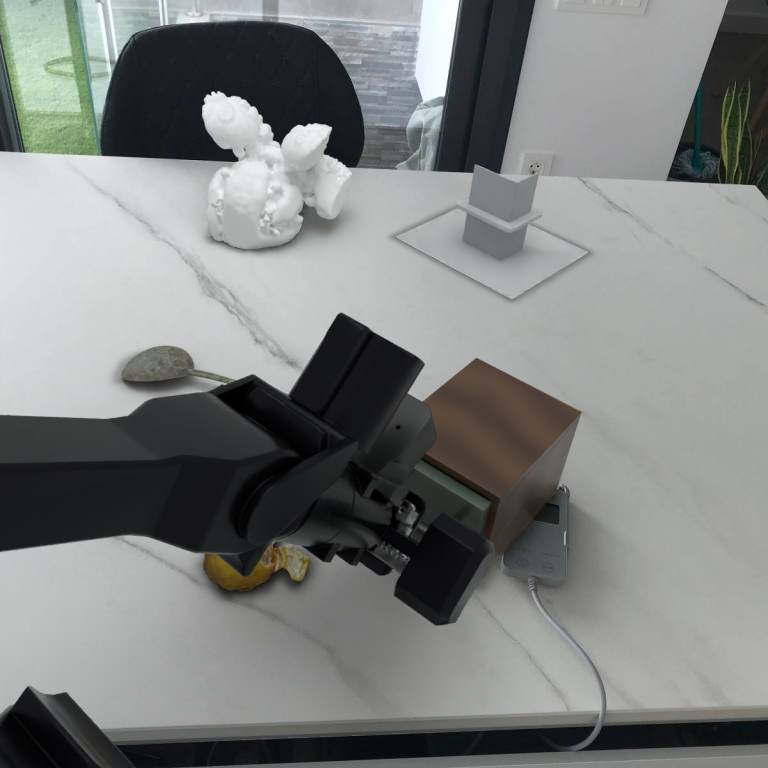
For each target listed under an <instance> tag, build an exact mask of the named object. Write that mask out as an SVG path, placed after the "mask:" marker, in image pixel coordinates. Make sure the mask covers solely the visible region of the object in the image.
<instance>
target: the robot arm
mask: <svg viewBox="0 0 768 768" xmlns="http://www.w3.org/2000/svg"><path fill="white" fill-rule="evenodd" d="M425 365H426V363H425V362H424V361H423V360H422V359H421V358H420V357H419V356H417V355H416V354H414V353H412V352H410V351H408V350H407V349H405V348H403V347H401V346H400V345H398V344H396V343H394V342H393V341H390V340H388V339H387V338H385V337H383V336H381V334H378V333H377V332H374V331H373V330H372V329H371V328H370V327H369V326H367V325H365V324H364V323H362V322H360V321H359V320H356V319H354V318H353V317H351V316H349V315H347V314H346V313H344V312H339V313H337V314H336V316H335V318H334V319H333V321H332V323H331V324H330V326H329V327H328V329H327V331H326V332H325V335H324V337H323V338H322V340H321V341H320V343H319V345H318V346H317V348H316V349H315V351H314V352H313V354H312V355H311V357H310V359H309V360H308V362H307V363H306V366H305V367H304V369H303V370H302V371H301V373H300V374H299V377H298V378H297V380H296V381H295V383H294V384H293V386H292V388H291V389H290V391H289V393H286V392H284V391H282V390H281V389H279V388H277V387H275V386H273V385H271V384H270V383H268V382H267V381H265V380H264V379H262V378H260V377H259V376H257V375H256V374H254V373H252V374H249V375H247V376H244V377H241V378H238V379H235V380H236V381H234V382H231V383H228V384H227V383H225V384H224V383H222V384H220V385H218V386H216V387H215V388H213V389H210V390H208V391H203V392H202V391H201V392H199V391H197V392H190V393H182V394H181V393H180V394H174V395H167V396H166V395H165V396H159V397H152V398H149V399H147V400H144V402H142V403H141V404H140V405H139V406H137V407H136V408H135V409H134V410H133V411H131V413H129V414H128V415H124V416H123V415H122V416H117V417H109V418H98V417H72V416H71V417H70V416H69V417H67V416H46V415H45V416H42V415H16V414H15V415H13V414H0V553H5V552H12V551H13V552H14V551H21V550H28V549H34V548H35V549H36V548H43V547H51V546H58V545H66V544H73V543H79V542H81V543H82V542H87V541H95V540H103V539H109V538H118V537H124V536H126V537H127V536H129V537H130V536H131V537H142V538H143V537H144V538H149V539H152V540H155V541H158V542H161V543H163V544H167V545H169V546H172V547H175V548H178V549H180V550H184V551H187V552H189V553H193V554H204V555H205V554H216V555H217V556H218V557H219V558H221V559H222V560H223V561H224V562H225V563H227V564H228V565H229V566H230V567H232V568H233V569H234V570H235V571H236V572H238V573H239V574H240V575H241V576H243V577H248V576H250V575H251V574H252V572H253V571H254V569H255V568H256V566H257V564H258V563H259V561H260V559H261V558H262V556H263V555H264V553H265V551H266V550H267V548H268V547H269V545H270V544H271V543H272V542H273V541H274V542H275V543H282V544H288V545H293V546H299V547H302V548H303V549H304V550H306V551H307V552H309V553H310V554H311V555H312V556H314V557H315V558H317V559H318V560H319V561H321V562H323V563H329V564H330V563H332V561H333V559H334V557H335V556H337V557H339V558H340V559H341V560H343V561H344V562H345V563H347V564H348V565H350V566H352V567H353V566H354V567H357V566H358V565H359V563H360V564H361V565H362V566H365V567H366V568H367V569H369V570H370V571H371V572H372V573H374V574H376V575H377V576H380V577H385V576H388V575H390V574H391V573H392V571H393V570H394V571H396V572H397V573H398V574H400V575H399V577H398V578H397V580H396V582H395V585H394V590H393V597H394V598H396V599H398V600H399V601H400V602H401V603H403V604H404V605H406V606H407V607H409V608H410V609H411V610H412V611H414V612H415V613H417V614H419V615H420V616H421V617H423V619H426V620H427V621H428V622H429V623H431V624H432V625H434V626H435V627H437V626H446V625H447V626H448V625H451V624H456V623H457V622H458V620H459V618H460V617H461V615H462V613H463V611H464V609H465V607H466V606H467V604H468V602H469V600H470V599H471V598H472V595H473V594H474V592H475V590H476V589H477V587H478V585H479V583H480V582H481V580H482V579H483V578H484V576H485V575H484V573H485V571H486V570H487V568H488V566H489V565H490V563H491V561H492V559H493V558H494V556H495V554H496V553H495V549H494V545H493V542H492V541H491V540H489V539H487V538H486V537H484V536H483V535H481V534H480V533H478V532H476V531H475V530H473V529H472V528H470V527H468V526H467V525H465V524H464V523H462V522H461V521H459V520H457V519H455V518H454V517H452V516H450V515H448V514H446V513H444V512H442V513H441V514H440V515H439V516H438V517H437V518H436V519H435V520H434V521H433V522H431V524H430V525H429V527H428V529H427V531H426V532H425V534H424V536H423V537H422V539H421V541H420V542H419V543H418V542H417V541H415V540H414V539H412V536H413V535H414V533H415V531H416V529H417V528H418V526H419V524H420V523H421V521H422V519H423V517H424V515H425V511H426V503H425V501H424V499H422V498H421V497H419V496H418V495H416V494H415V493H413V492H412V491H410V490H408V489H407V488H405V487H404V486H402V484H403V483H404V481H405V479H406V478H407V476H408V475H409V474H410V473H411V471H412V470H413V469H414V467H415V466H416V465H417V464H418V462H419V461H420V460H421V458H422V457H423V456H424V455H425V453H426V452H427V451H428V450H429V449H431V447H432V446H433V445H434V443H435V442H436V439H437V434H436V430H435V425H434V421H433V416H432V411H431V409H430V407H429V406H428V405H427V404H425V403H424V402H422V401H423V400H420V399H418V398H417V397H415V396H413V395H411V394H410V393H409V392H410V391H411V388H412V387H413V385H414V383H415V382H416V380H417V378H418V377H419V375H420V374H421V372H422V371H423V369H424V367H425ZM405 556H406V557H407V558H405ZM483 575H484V576H483ZM482 577H483V578H482ZM481 578H482V579H481ZM0 768H136V766H135V765H134V764H133V763H132V762H131V761H130V760H129V759H128V758H127V756H126V755H125V754H124V753H123V752H122V751H121V750H120V749H119V748H118V746H117V745H116V744H115V743H114V742H113V741H112V740H111V739H110V738H109V737H108V736H107V734H106V733H104V732H103V730H102V729H101V728H100V727H99V726H98V725H97V724H96V723H95V722H94V720H93V719H92V718H91V717H90V716H89V715H88V714H87V713H86V712H85V710H83V708H81V706H80V705H79V704H78V703H77V701H75V700H74V698H72V696H71V695H70V694H69V693H68V692H67V691H62V692H58V693H54V694H51V693H44V692H41V691H39V690H38V689H36V688H35V687H33V686H31V685H27V686H26V687H25V689H24V690H23V691H22V692H21V694H20V695H19V697H18V698H17V700H16V701H15V702H14V703H13V704H10V705H8V706H7V707H6V708H5V709H4V710H3V711H2V712H1V713H0Z"/></svg>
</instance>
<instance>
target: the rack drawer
mask: <svg viewBox="0 0 768 768" xmlns="http://www.w3.org/2000/svg"><path fill="white" fill-rule="evenodd" d="M402 486H404V487H405V488H407V489H408V490H410V491H412V492H413V493H415V494H416V495H418V496H419V497H421V498H422V499H424V501H425V503H426V511H425V515H424V517H423V519H422V521H421V523H420V524H419V526H418V528H417V529H416V531H415V533H414V535H413V536H412V539H414V540H415V541H417V542H418V543H419V542H420V541H421V539H422V537H423V536H424V534H425V532H426V531H427V529H428V527H429V525H430V524H431V522H433V521H434V520H435V519H436V518H437V517H438V516H439V515H440V514H441V513H442V512H444V513H446V514H448V515H450V516H452V517H454V518H455V519H457V520H459V521H461V522H462V523H464V524H465V525H467V526H468V527H470V528H472V529H473V530H475V531H476V532H478V533H480V534H481V535H484V531H485V527H486V523H487V519H488V515H489V511H490V507H491V502H490V499H488V498H487V497H485V496H483V495H482V494H480V493H478V492H477V491H475V490H473V489H472V488H470V487H468V486H467V485H465V484H464V483H462V482H460V481H459V480H457V479H455V478H454V477H452V476H450V475H449V474H447V473H445V472H444V471H442V470H440V469H439V468H437V467H436V466H434V465H432V464H431V463H429V462H427V461H426V460H424V459H422V458H421V460H420V461H419V462H418V464H417V465H416V466H415V467H414V469H413V470H412V471H411V473H410V474H409V475H408V476H407V478H406V479H405V481H404V483H403V484H402Z"/></svg>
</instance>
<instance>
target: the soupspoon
mask: <svg viewBox="0 0 768 768" xmlns="http://www.w3.org/2000/svg"><path fill="white" fill-rule="evenodd" d="M188 376H191V377H197V378H203V379H207V380H211V381H216V382H219V383H222V384H228V383H231V382H234V381H236V380H237V379H234V378H231V377H227V376H224V375H221V374H218V373H214V372H210V371H205V370H201V369H197V368H195V362H194V360H193V358H192V356H191V354H190V353H189V352H188V351H186V349H183V348H181V347H178V346H175V345H158V346H153V347H149V348H147V349H145V350H143V351H140V352H139V353H137V354H136V355H135V356H133V357H132V358H131V359H130V360H129V361H128V362H127V363H126V365H125V366H124V368H123V369H122V371H121V377H122V380H125V381H127V382H138V383H139V382H140V383H143V382H156V381H157V382H158V381H164V380H173V379H178V378H183V377H188Z"/></svg>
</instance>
